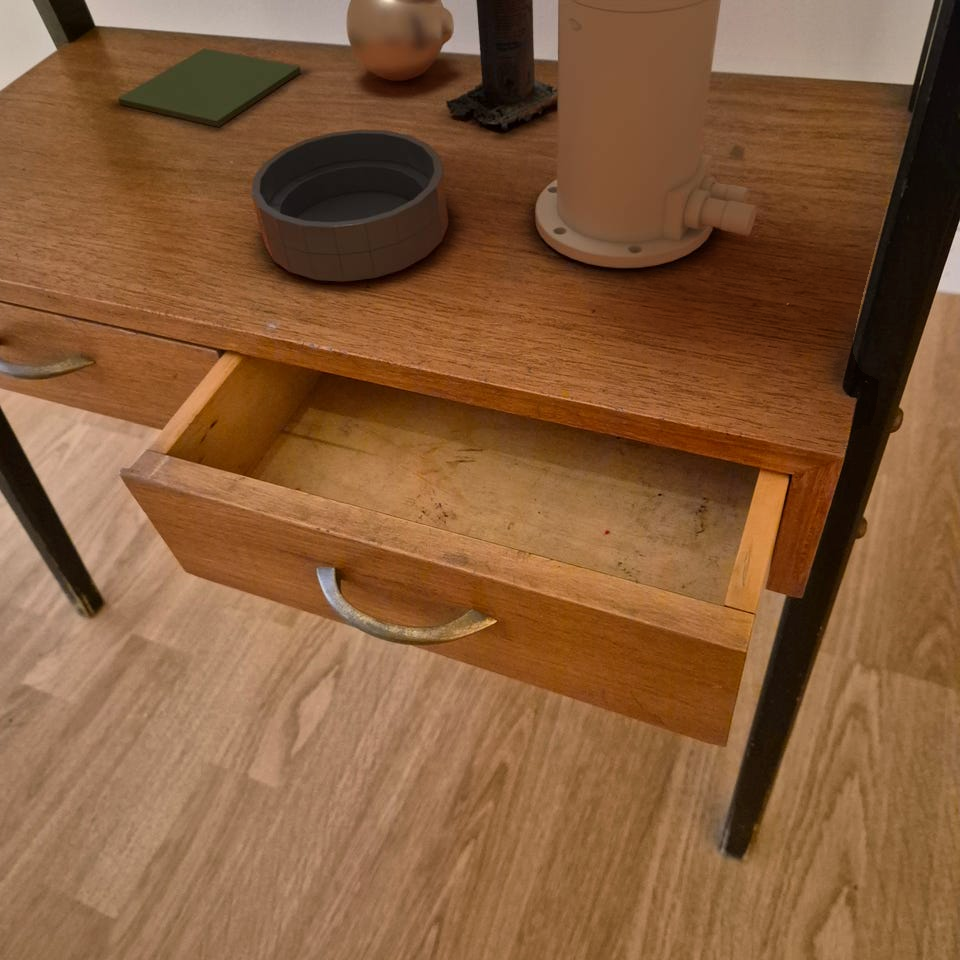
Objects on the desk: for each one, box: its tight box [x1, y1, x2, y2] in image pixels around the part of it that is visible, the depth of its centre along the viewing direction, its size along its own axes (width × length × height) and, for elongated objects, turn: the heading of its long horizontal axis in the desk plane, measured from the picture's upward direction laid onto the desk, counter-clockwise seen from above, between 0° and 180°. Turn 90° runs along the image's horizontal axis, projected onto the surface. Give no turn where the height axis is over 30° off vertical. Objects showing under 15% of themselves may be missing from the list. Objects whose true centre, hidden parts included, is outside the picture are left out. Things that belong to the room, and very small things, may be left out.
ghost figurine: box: [345, 0, 455, 82], centre depth 78 cm, size 9×10×10 cm
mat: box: [117, 48, 301, 128], centre depth 82 cm, size 12×12×1 cm
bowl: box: [250, 129, 449, 283], centre depth 62 cm, size 13×13×4 cm
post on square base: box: [445, 0, 558, 132], centre depth 71 cm, size 9×8×12 cm
